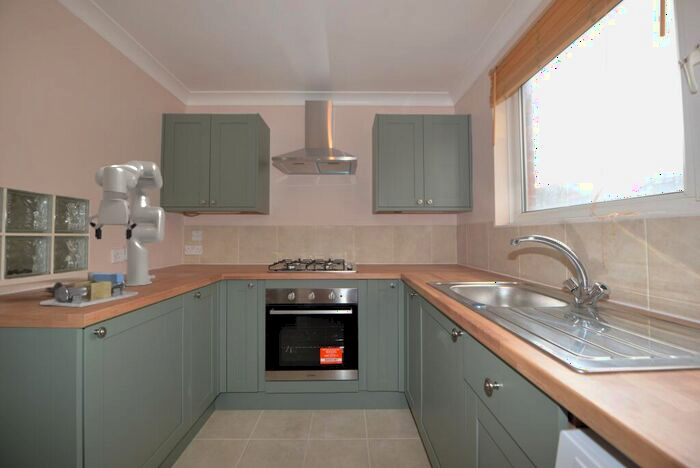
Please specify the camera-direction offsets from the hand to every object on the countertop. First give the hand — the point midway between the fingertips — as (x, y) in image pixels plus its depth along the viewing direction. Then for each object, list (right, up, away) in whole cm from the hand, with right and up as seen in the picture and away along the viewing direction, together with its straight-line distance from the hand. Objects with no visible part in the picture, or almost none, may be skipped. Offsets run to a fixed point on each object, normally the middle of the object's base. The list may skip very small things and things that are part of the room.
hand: (113, 239), depth 122 cm
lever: (-3, -17, -1) cm, 17 cm away
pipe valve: (-8, -24, 0) cm, 26 cm away
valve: (-32, -25, +14) cm, 43 cm away
